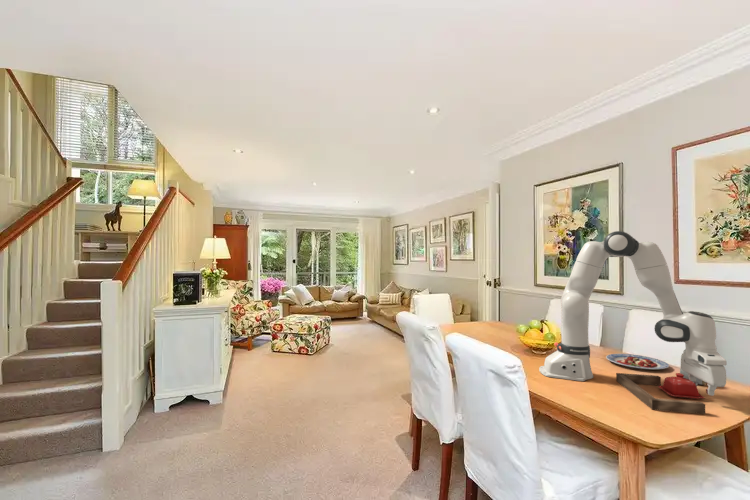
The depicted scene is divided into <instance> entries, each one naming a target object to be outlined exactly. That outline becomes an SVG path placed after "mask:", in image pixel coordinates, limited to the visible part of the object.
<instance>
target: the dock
mask: <svg viewBox="0 0 750 500" xmlns="http://www.w3.org/2000/svg"><path fill="white" fill-rule="evenodd" d="M615 378H616V380H615V381H616V382H617V383H619V384H620V385H621V386H622V387H623V388H624V389H626V390H627V391H628V392H630V393H631V394H632V395H633V396H635V397H636V398H637V399H638V400H640V401H641V402H642V403H644V405H646V407H648V408H650V409H651V410H653V411H661V412H662V411H663V412H672V413H673V412H674V413H686V414H697V415H706V404H705V403H704V402H702V401H693V400H681V399H672V398H671V399H668V398H656V397H654V396H653V395H652V394H650V393H649V392H648V391H646V390H645V389H643V388H642V387H641V386H640V385H651V386H662V377H661V376H659V375H651V374H650V375H649V374H638V373H636V374H635V373H621V372H616V374H615Z"/></svg>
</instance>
